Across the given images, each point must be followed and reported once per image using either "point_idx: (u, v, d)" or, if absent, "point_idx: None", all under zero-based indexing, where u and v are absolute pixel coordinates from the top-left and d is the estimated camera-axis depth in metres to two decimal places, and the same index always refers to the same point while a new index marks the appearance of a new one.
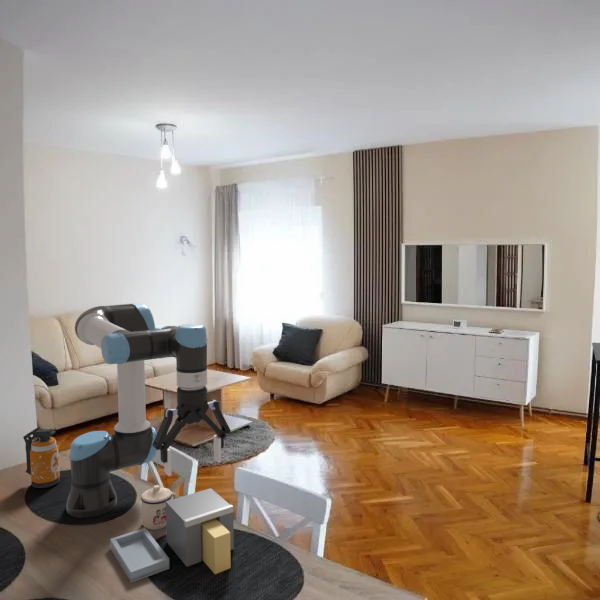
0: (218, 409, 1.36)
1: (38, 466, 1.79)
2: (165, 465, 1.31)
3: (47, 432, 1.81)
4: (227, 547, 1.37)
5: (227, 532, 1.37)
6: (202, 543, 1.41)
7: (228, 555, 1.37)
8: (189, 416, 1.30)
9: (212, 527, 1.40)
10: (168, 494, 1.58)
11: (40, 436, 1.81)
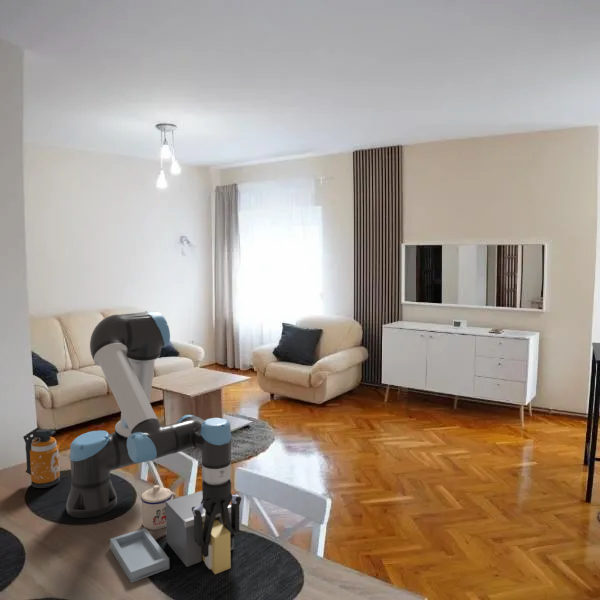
0: (238, 505, 1.40)
1: (38, 466, 1.79)
2: (205, 558, 1.38)
3: (47, 432, 1.81)
4: (227, 547, 1.37)
5: (227, 532, 1.37)
6: None
7: (228, 554, 1.37)
8: (215, 509, 1.35)
9: None
10: (168, 494, 1.58)
11: (40, 436, 1.81)
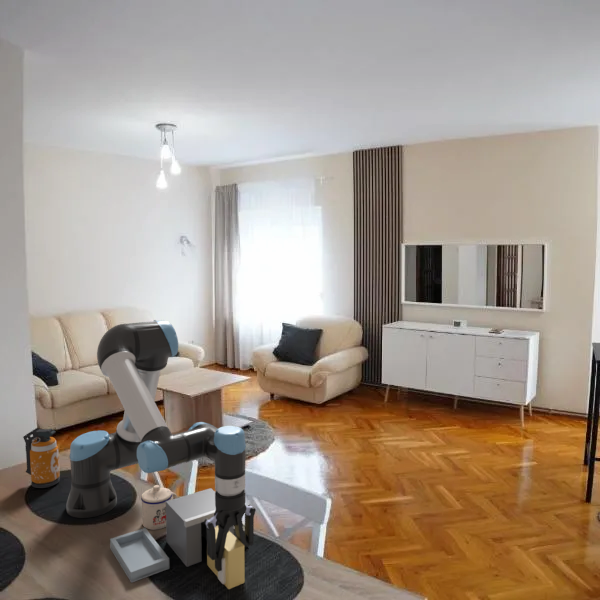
0: (252, 516, 1.34)
1: (38, 466, 1.79)
2: (218, 572, 1.32)
3: (47, 432, 1.81)
4: (241, 561, 1.31)
5: (241, 545, 1.31)
6: None
7: (242, 568, 1.31)
8: (229, 521, 1.29)
9: None
10: (168, 494, 1.58)
11: (40, 436, 1.81)
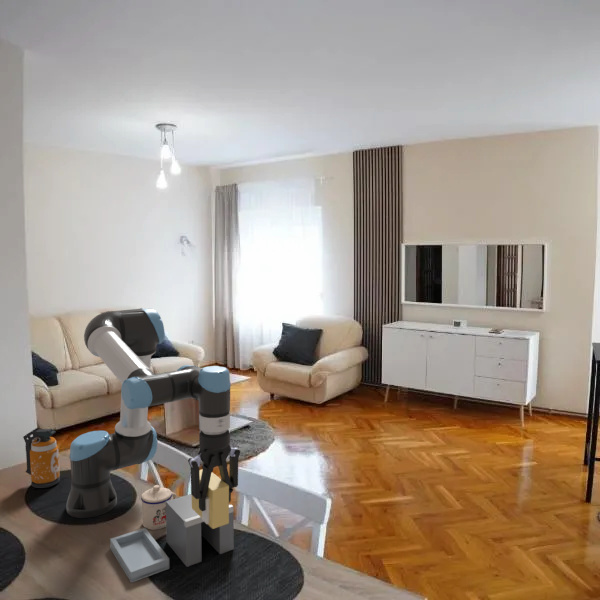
0: (237, 458, 1.33)
1: (38, 466, 1.79)
2: (202, 513, 1.32)
3: (47, 432, 1.81)
4: (225, 501, 1.31)
5: (225, 485, 1.31)
6: None
7: (226, 509, 1.31)
8: (213, 461, 1.29)
9: (210, 480, 1.33)
10: (168, 494, 1.58)
11: (40, 436, 1.81)
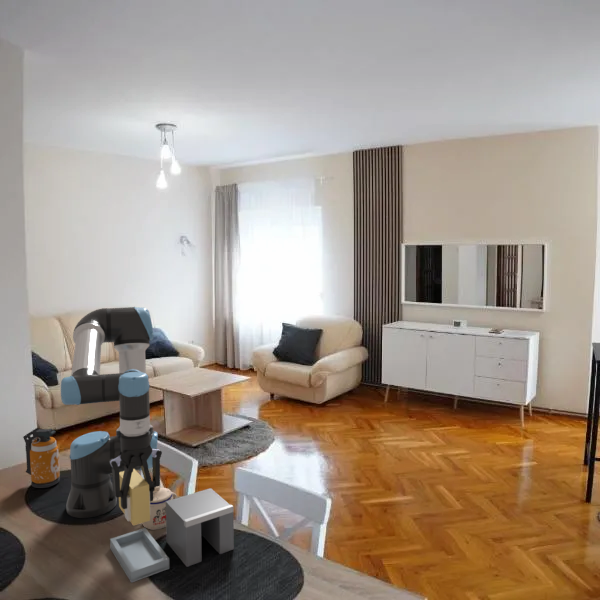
0: (158, 459, 1.41)
1: (38, 466, 1.79)
2: (125, 511, 1.39)
3: (47, 432, 1.81)
4: (146, 499, 1.38)
5: (146, 484, 1.38)
6: None
7: (147, 507, 1.39)
8: (133, 461, 1.36)
9: (133, 480, 1.41)
10: (168, 494, 1.58)
11: (40, 436, 1.81)
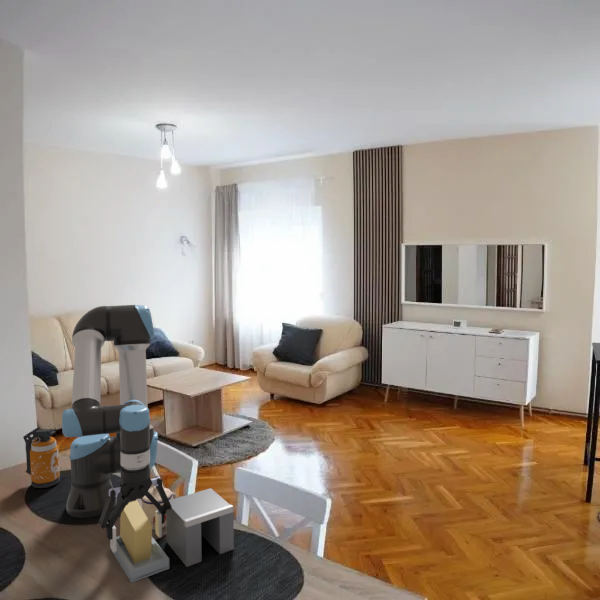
0: (161, 486, 1.43)
1: (38, 466, 1.79)
2: (110, 541, 1.38)
3: (47, 432, 1.81)
4: (148, 539, 1.39)
5: (149, 526, 1.38)
6: (125, 530, 1.43)
7: (148, 546, 1.40)
8: (132, 494, 1.37)
9: (136, 517, 1.41)
10: (168, 494, 1.58)
11: (40, 436, 1.81)
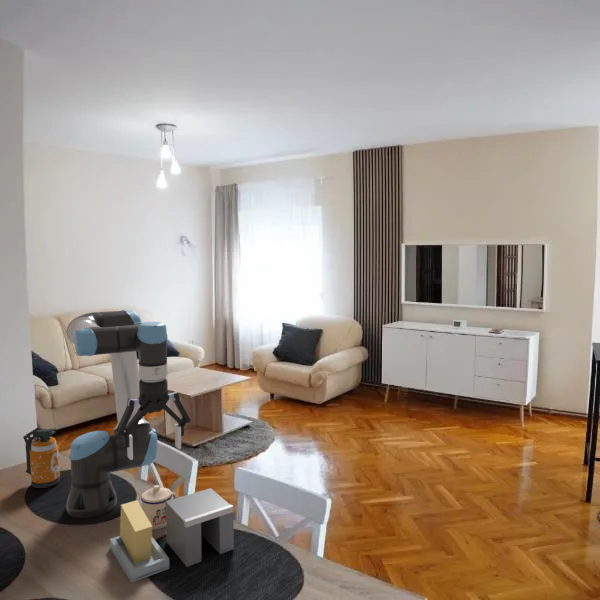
0: (178, 400, 1.48)
1: (38, 466, 1.79)
2: (127, 450, 1.43)
3: (47, 432, 1.81)
4: (148, 539, 1.39)
5: (149, 526, 1.38)
6: (125, 530, 1.43)
7: (148, 546, 1.40)
8: (149, 406, 1.42)
9: (136, 517, 1.41)
10: (168, 494, 1.58)
11: (40, 436, 1.81)
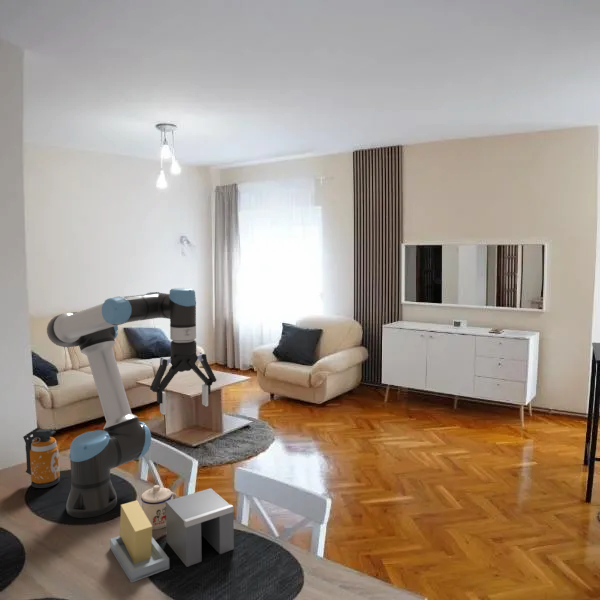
0: (205, 360, 1.60)
1: (38, 466, 1.79)
2: (160, 406, 1.55)
3: (47, 432, 1.81)
4: (148, 539, 1.39)
5: (149, 526, 1.38)
6: (125, 530, 1.43)
7: (148, 546, 1.40)
8: (181, 365, 1.55)
9: (136, 517, 1.41)
10: (168, 494, 1.58)
11: (40, 436, 1.81)
